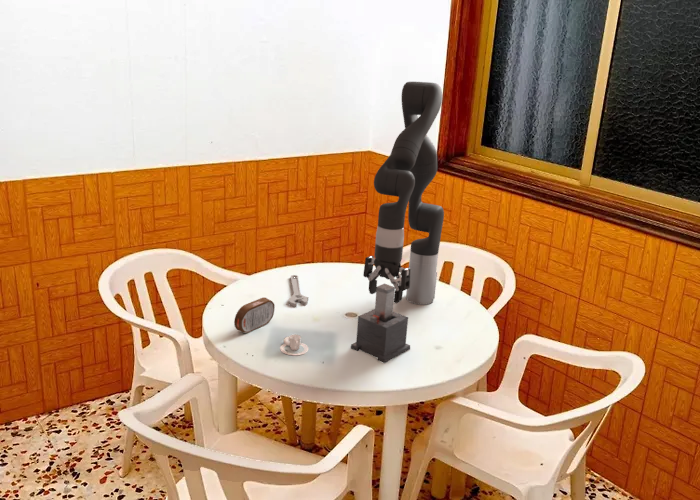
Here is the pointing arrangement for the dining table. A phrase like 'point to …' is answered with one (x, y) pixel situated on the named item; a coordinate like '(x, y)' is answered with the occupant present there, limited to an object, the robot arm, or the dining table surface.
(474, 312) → the dining table surface
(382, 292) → the column
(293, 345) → the teacup and saucer
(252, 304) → the tin
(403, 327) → the housing
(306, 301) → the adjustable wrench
